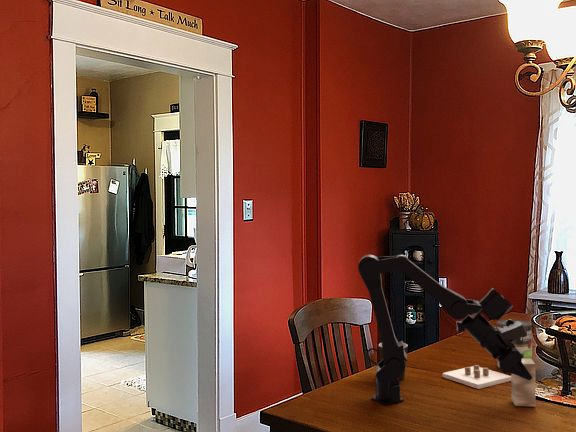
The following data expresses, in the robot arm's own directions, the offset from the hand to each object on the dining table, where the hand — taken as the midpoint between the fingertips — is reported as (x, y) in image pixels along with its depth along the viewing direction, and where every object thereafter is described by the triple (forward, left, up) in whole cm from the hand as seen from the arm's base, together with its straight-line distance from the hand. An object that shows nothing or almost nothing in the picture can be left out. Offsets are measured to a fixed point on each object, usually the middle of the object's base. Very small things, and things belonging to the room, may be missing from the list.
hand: (528, 375), depth 165 cm
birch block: (-1, -1, -7) cm, 7 cm away
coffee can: (-25, +25, -8) cm, 37 cm away
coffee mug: (-39, -14, -8) cm, 42 cm away
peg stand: (-23, +6, -7) cm, 25 cm away
